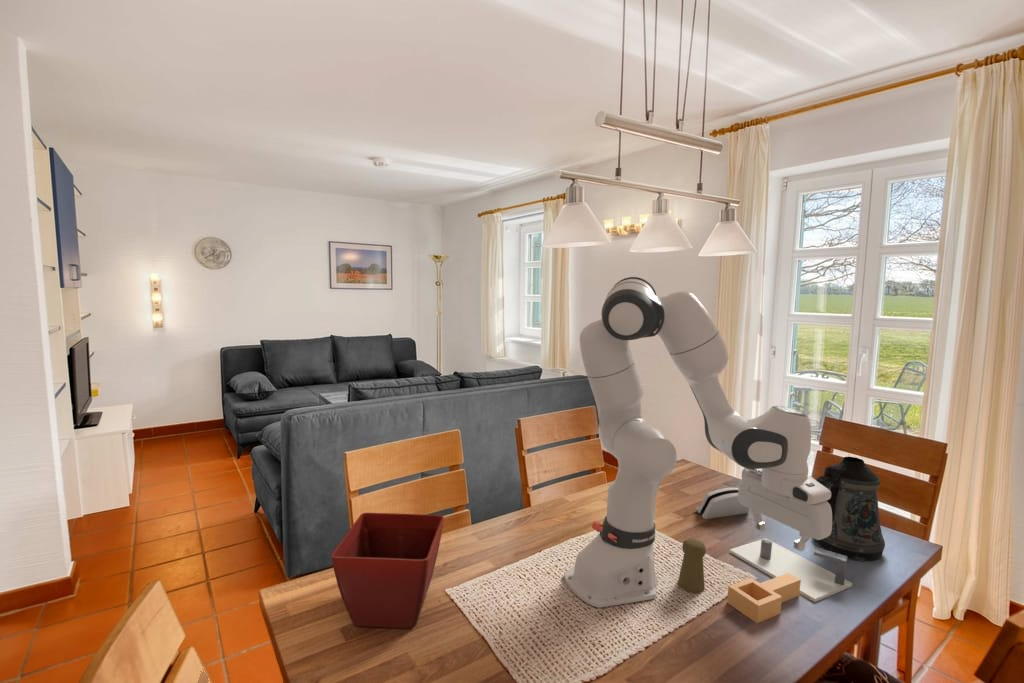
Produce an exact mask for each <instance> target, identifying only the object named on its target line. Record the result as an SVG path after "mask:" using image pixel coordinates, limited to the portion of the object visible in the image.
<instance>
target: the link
mask: <svg viewBox="0 0 1024 683" xmlns="http://www.w3.org/2000/svg"><path fill="white" fill-rule="evenodd" d="M800 583H801V579H799V578H797V577H795V576H793V575H792V574H790V573H787V574H784V575H781V576H778V577H776V578H773V577H772V578H771V579H768V580H764V581H763V582H759V581H758V580H756V579H754V578H752V577H750V578H747V579H744V580H742V581H738V582H737V583H733V584H730V585H728V590H727V597H726V598H727V600H726V603H727V604H728V605H730V606H731V607H732V608H734V609H736V610H737V611H738V612H740V613H741V614H742V615H744V616H746V617H747V618H748V619H750V620H751V621H753V622H754V623H756V624H760V623H762V622H765V621H767V620H769V619H771V618H773V617H776V616H779V615H780V614H781V611H782V603H785V602H787V601H790V600H792V599H794V598H795V599H796V598H797V597H799V596H800Z"/></svg>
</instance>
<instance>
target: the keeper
mask: <svg viewBox="0 0 1024 683" xmlns="http://www.w3.org/2000/svg"><path fill="white" fill-rule="evenodd" d="M813 556H816V557H819V558H823V559H826V560H829V561H833V562H835V563H836V566H835V573H834V574H835V583H837V584H840V585H843V586H844V581H845V580H846V570H847V562H848V558H847V556H845V555H841V554H838V553H835V552H831V551H828V550H826V549H824V548H822V547H817V546H815V547H814V550H813Z"/></svg>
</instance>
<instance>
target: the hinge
mask: <svg viewBox="0 0 1024 683" xmlns="http://www.w3.org/2000/svg"><path fill="white" fill-rule="evenodd" d="M738 492H739V487H724V488H719V489H717V490H716V489H715V490H713V491H709V492H708V493H707V494H705V496H704V497H703V499H702V502H701V504H700V505H699V506H697V507H695V509H694V513H698V514H700V515H701V514H702V515H701V518H702V519H705V520H706V519H707V520H708V519H715V518H723V517H727V516H728V517H730V516H736V515H737V516H738V515H743V514H744V515H745V514H748V513H749V511H750V508H748V507H746V506H744V505H742V504H740V502H739V500H738Z"/></svg>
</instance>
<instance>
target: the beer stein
mask: <svg viewBox="0 0 1024 683" xmlns="http://www.w3.org/2000/svg"><path fill="white" fill-rule="evenodd" d="M823 473H824V474H823V475H820V476H819V477H817V478H816V479H815V480H816V481H818V482H819V483H820V484H822V485H823V486H825V487H826V488H827V489H829V490H830V491H831V498H830V499H829V500H827V502H828V503H829V504H830V506H831V509H832V531H831V534H830V535H829V536H828V537H826V538H824V539H821V540H816V539H814V542H816V543H817V545H819V546H820V548H821V549H825V550H828V551H831V552H835V553H838V554H841V555H845V556H847V559H849V560H853V561H860V562H873V561H874V562H875V561H878V560H880V559H881V558H882V557H883V553H884V550H885V547H886V541H885V539H884V536H883V533H882V528H881V521H880V514H879V513H880V512H879V500H878V489H879V488H880V487H881V486H880V485H881V483H882V481H881V478H880V477H879V476H878V475H877V474H876V473H875V472H874V471H873V470H871V468H870V467H868V466H867V465H866V462H865V461H864V460H863V459H861V458H858V457H856V456H845V457H843V458H842V460H840V461H839V462H837V463H835V464H833V465H828V466H826V467H825V469H824V472H823Z"/></svg>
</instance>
